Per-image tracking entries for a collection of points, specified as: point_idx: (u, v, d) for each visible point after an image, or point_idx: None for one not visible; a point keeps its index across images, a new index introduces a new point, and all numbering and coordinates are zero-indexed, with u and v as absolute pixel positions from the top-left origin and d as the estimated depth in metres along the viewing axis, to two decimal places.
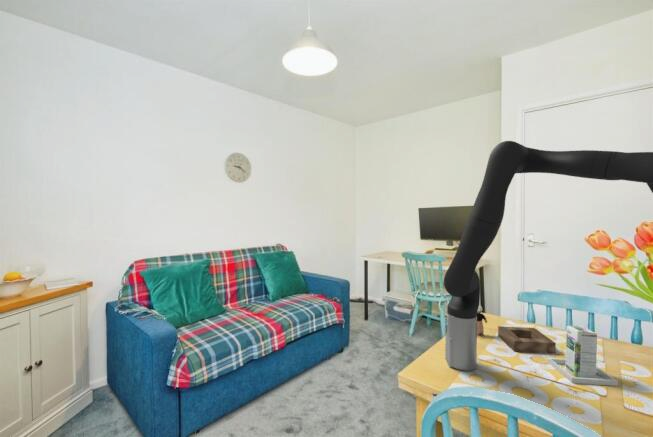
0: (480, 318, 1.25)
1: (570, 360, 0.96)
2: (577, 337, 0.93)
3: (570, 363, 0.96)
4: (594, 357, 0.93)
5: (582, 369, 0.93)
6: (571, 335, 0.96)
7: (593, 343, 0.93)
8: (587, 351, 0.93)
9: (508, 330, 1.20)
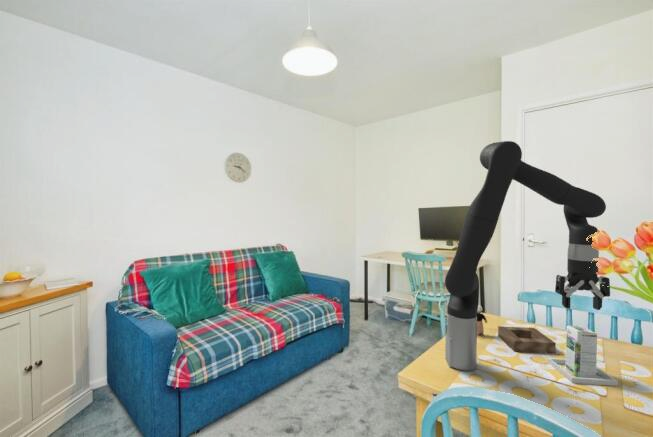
0: (480, 318, 1.25)
1: (570, 360, 0.96)
2: (577, 337, 0.93)
3: (571, 363, 0.96)
4: (594, 357, 0.93)
5: (582, 369, 0.93)
6: (571, 335, 0.96)
7: (593, 343, 0.93)
8: (587, 351, 0.93)
9: (508, 330, 1.20)
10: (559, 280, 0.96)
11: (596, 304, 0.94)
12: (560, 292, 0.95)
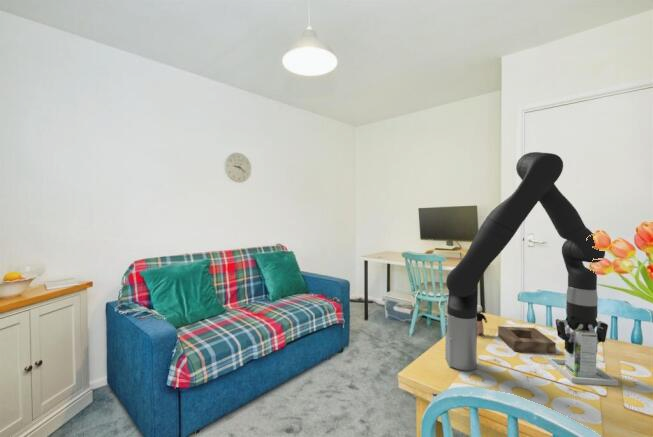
0: (480, 318, 1.25)
1: (570, 360, 0.96)
2: (577, 337, 0.93)
3: (570, 363, 0.96)
4: (594, 357, 0.93)
5: (582, 369, 0.93)
6: None
7: (593, 343, 0.93)
8: (587, 351, 0.93)
9: (508, 330, 1.20)
10: (559, 325, 0.96)
11: None
12: (563, 337, 0.95)
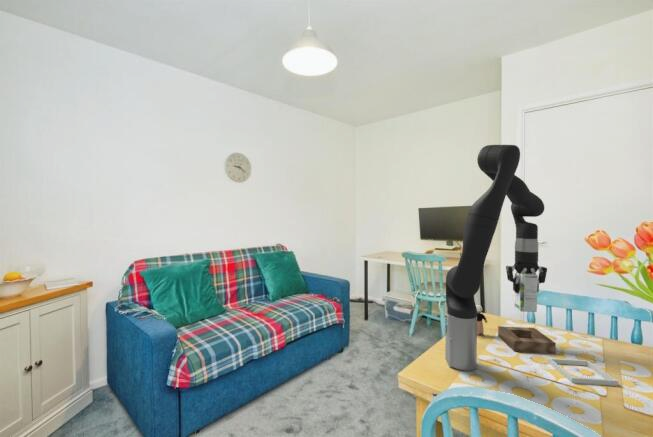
0: (480, 318, 1.25)
1: (517, 299, 1.17)
2: (521, 278, 1.14)
3: (517, 301, 1.16)
4: (535, 294, 1.13)
5: (526, 304, 1.14)
6: None
7: (534, 283, 1.13)
8: (530, 289, 1.13)
9: (508, 330, 1.20)
10: (508, 270, 1.16)
11: None
12: (511, 279, 1.16)
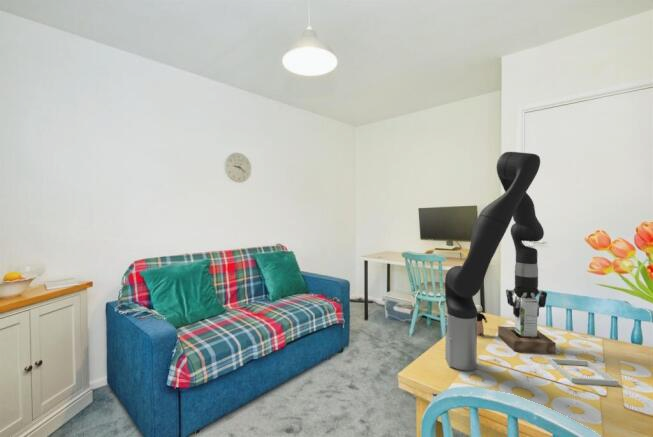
0: (480, 318, 1.25)
1: (517, 323, 1.17)
2: (521, 303, 1.14)
3: (518, 325, 1.16)
4: (535, 319, 1.13)
5: (526, 329, 1.14)
6: None
7: (534, 307, 1.13)
8: (530, 314, 1.13)
9: (508, 330, 1.20)
10: (508, 294, 1.16)
11: None
12: (511, 304, 1.16)
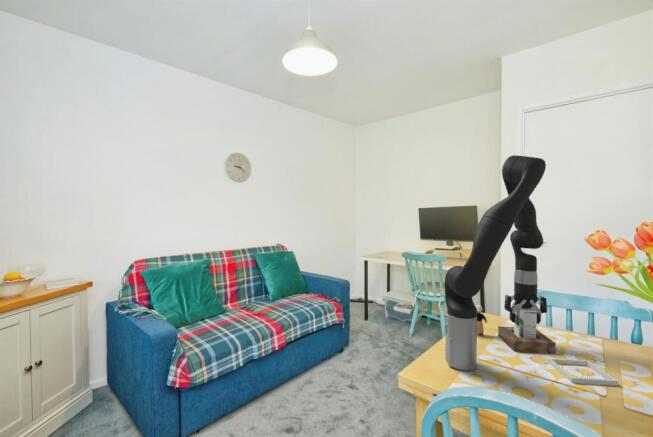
0: (480, 318, 1.25)
1: (516, 333, 1.17)
2: (520, 314, 1.14)
3: (517, 336, 1.17)
4: (534, 330, 1.14)
5: None
6: (517, 313, 1.17)
7: (533, 318, 1.13)
8: (529, 325, 1.14)
9: (508, 330, 1.20)
10: (507, 299, 1.17)
11: None
12: (507, 309, 1.16)
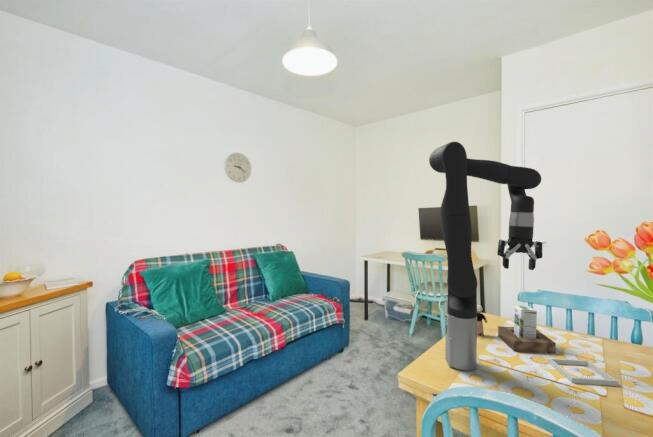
0: (480, 318, 1.25)
1: (516, 333, 1.17)
2: (520, 314, 1.14)
3: (517, 336, 1.17)
4: (534, 330, 1.14)
5: None
6: (517, 313, 1.17)
7: (533, 318, 1.13)
8: (529, 325, 1.14)
9: (508, 330, 1.20)
10: (500, 244, 1.09)
11: (530, 265, 1.08)
12: (500, 254, 1.09)
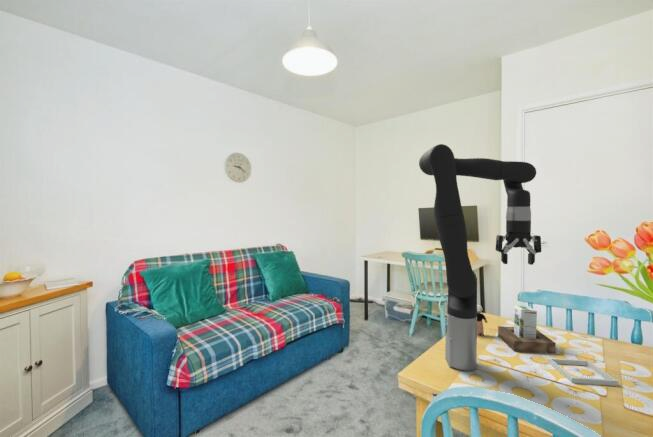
0: (480, 318, 1.25)
1: (516, 333, 1.17)
2: (521, 314, 1.14)
3: (517, 336, 1.17)
4: (534, 330, 1.14)
5: None
6: (517, 313, 1.17)
7: (534, 318, 1.13)
8: (529, 325, 1.14)
9: (508, 330, 1.20)
10: (498, 239, 1.08)
11: (530, 260, 1.07)
12: (498, 249, 1.08)
